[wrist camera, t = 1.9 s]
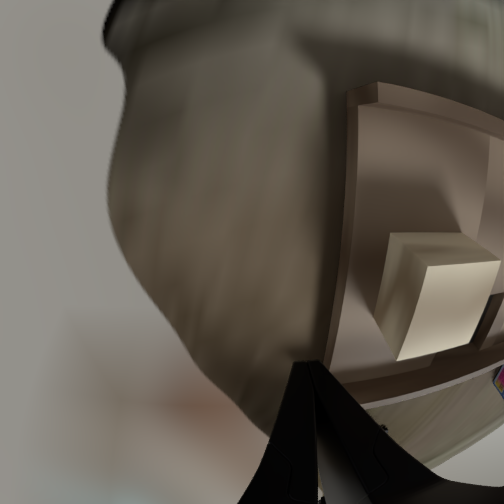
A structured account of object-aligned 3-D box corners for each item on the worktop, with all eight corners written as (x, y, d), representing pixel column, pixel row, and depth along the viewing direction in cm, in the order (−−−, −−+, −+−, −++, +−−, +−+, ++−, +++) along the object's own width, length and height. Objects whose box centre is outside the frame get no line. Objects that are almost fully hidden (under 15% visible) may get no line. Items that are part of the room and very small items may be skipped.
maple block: (440, 307, 14) (468, 343, 11) (373, 317, 14) (396, 361, 11) (461, 232, 12) (501, 260, 9) (390, 232, 12) (427, 266, 9)
